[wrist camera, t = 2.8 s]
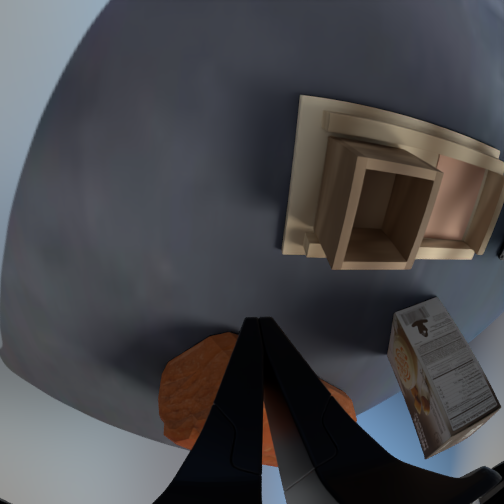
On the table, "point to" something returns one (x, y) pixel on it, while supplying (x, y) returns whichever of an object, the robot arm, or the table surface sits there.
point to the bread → (209, 393)
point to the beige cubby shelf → (417, 143)
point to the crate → (373, 205)
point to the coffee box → (438, 377)
